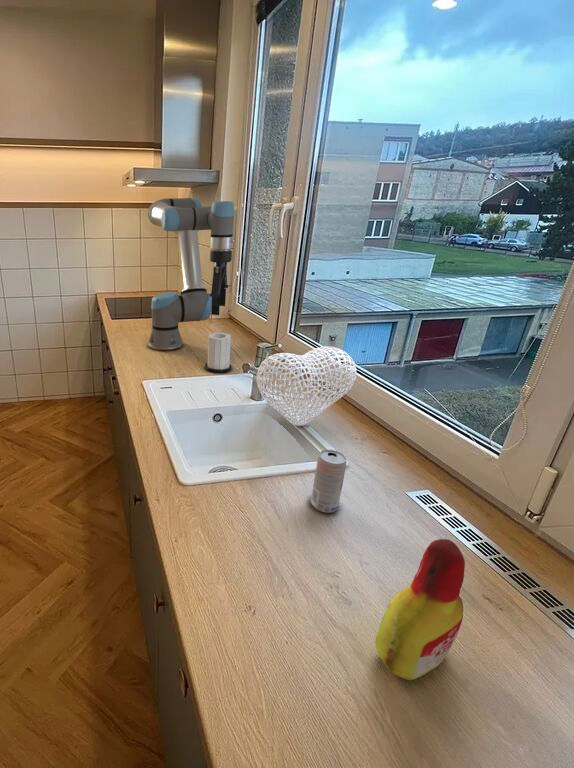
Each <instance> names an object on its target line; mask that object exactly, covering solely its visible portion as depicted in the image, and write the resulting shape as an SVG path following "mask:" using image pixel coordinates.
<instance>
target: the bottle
mask: <svg viewBox="0 0 574 768" xmlns="http://www.w3.org/2000/svg"><path fill="white" fill-rule="evenodd" d="M465 561H466V560H465V557H464V554H463V552H462V551H461V549H460V547H458V545H457V544H456V543H455V542H454V541H452V540H451V539H447V538H440V539H435V540H433V541H431V543H430V544H429V545H428V546H427V547H426V549H425V550H424V553H423V555H422V558H421V561H420V563H419V566H418V569H417V572H416V573H415V574H414V577H413V580H412V581H411V583H410V584H409V585H408V586H406V587H405V588H404V589H402V590H401V591H399V592H398V593H396V594H395V595H394V597H393V598H392V599H391V601H389V603H388V605H387V607H386V609H385V612H384V614H383V616H382V619H381V622H380V624H379V627H378V630H377V634H376V636H375V641H374V644H375V649H376V652H377V654H378V656H379V658H380V659H381V661H382V662H383V663H382V664H383V665H384V666H385V667H386V668H387V669H388V671H390V672H391V674H393V675H395V676H397V677H399V678H401V679H403V680H407V681H412V680H416V679H419V678H420V677H422V676H424V675H426V674H427V673H429V672H430V671H432V670H433V669H435V668H437V667H438V666H439V665H440V664H441V663H442V662H443V661H444V659H445V658H446V656H447V655H448V654H449V652H450V650H451V649H452V646H453V644H454V642H455V640H456V638H457V636H458V634H459V631H460V629H461V626H462V622H463V618H464V603H463V600H462V597H461V596H460V594H461V589H462V587H463V583H464V579H465V570H466V569H465V568H466V562H465Z"/></svg>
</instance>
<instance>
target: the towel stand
mask: <svg viewBox="0 0 574 768" xmlns="http://www.w3.org/2000/svg"><path fill="white" fill-rule="evenodd" d="M204 368H205V371H207V372H209V373H212V374H226V373H229V372H231V371H232V364H231V363H230V366H229V368H227V369H222V370H220V369H219V370H217V369H212V368H209V367H208V366H207V363H206V364H205V367H204Z"/></svg>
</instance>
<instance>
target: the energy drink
mask: <svg viewBox="0 0 574 768" xmlns="http://www.w3.org/2000/svg"><path fill="white" fill-rule="evenodd" d="M346 468H347V456H346V455H344V453H342V452H340V451H338V450H334V449H324V450H321V451H320V452H319V455H318V456H317V461H316V468H315V473H314V479H313V484H312V485H313V486H312V492H311V499H310V503H311V505H312V507H314V509H316V510H317V511H319V512H322V513H326V514H331V513H335V512H336V511H337V510H338V508H339V504H340V500H341V494H342V489H343V485H344V479H345V474H346Z"/></svg>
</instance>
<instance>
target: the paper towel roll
mask: <svg viewBox="0 0 574 768" xmlns="http://www.w3.org/2000/svg"><path fill="white" fill-rule="evenodd" d="M231 349H232V334H229V333H226V332H212V333H209V334H208V335H207V359H206V360H207V362H206V364H207V366H208V367H209V368H212V369H217V370H219V369H220V370H222V369H227V368H229V366H230V364H231V353H232V352H231Z"/></svg>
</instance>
